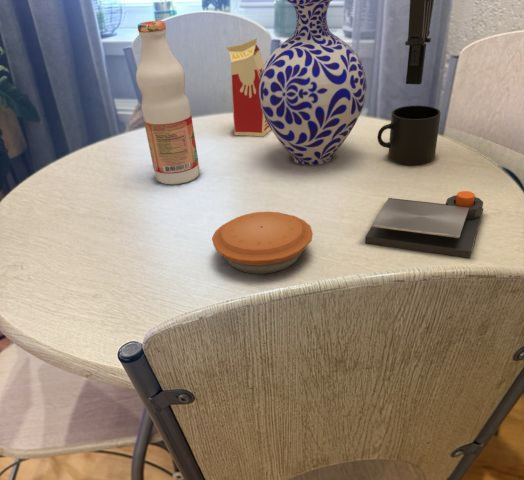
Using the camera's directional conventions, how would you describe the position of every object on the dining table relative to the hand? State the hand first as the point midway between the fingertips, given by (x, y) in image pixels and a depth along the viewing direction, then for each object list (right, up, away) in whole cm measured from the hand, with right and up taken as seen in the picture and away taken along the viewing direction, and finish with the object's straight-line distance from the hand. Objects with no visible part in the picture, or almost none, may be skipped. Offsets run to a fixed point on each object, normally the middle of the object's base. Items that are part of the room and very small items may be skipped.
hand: (413, 83), depth 101 cm
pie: (-29, -36, -17) cm, 49 cm away
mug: (+1, -11, +11) cm, 15 cm away
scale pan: (-4, -30, -17) cm, 35 cm away
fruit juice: (-47, -14, +12) cm, 50 cm away
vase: (-18, -9, +15) cm, 25 cm away
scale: (-2, -31, -14) cm, 34 cm away
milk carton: (-31, +4, +32) cm, 45 cm away
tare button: (+4, -27, -14) cm, 30 cm away
